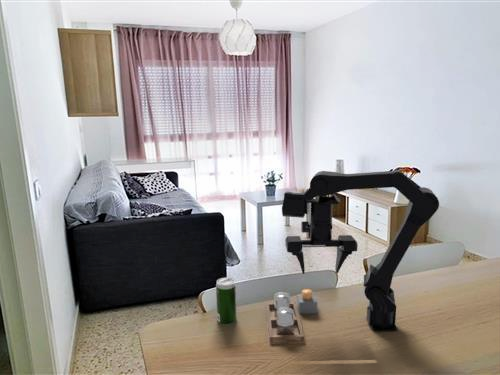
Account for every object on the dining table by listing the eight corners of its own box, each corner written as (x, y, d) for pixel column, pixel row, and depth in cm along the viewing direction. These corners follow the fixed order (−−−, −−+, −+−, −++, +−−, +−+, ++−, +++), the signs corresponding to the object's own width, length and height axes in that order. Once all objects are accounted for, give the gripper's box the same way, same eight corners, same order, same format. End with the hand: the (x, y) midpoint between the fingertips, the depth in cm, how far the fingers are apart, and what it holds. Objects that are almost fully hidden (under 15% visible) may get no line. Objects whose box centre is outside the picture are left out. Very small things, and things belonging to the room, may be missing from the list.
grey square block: (314, 306, 115) (314, 293, 114) (317, 315, 110) (317, 302, 109) (297, 306, 115) (297, 294, 114) (299, 315, 110) (299, 302, 109)
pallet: (295, 308, 114) (296, 301, 113) (305, 345, 96) (305, 337, 96) (265, 308, 114) (265, 302, 113) (268, 345, 96) (268, 338, 95)
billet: (292, 327, 103) (292, 306, 101) (294, 337, 98) (294, 315, 97) (275, 327, 103) (276, 307, 101) (277, 337, 98) (277, 315, 97)
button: (311, 295, 113) (311, 289, 112) (313, 300, 110) (313, 293, 109) (301, 295, 113) (301, 289, 112) (302, 300, 110) (302, 294, 109)
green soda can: (223, 329, 103) (221, 287, 101) (213, 320, 108) (212, 280, 105) (240, 322, 106) (239, 282, 104) (230, 314, 111) (229, 275, 108)
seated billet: (289, 311, 111) (289, 291, 110) (290, 319, 107) (290, 299, 105) (273, 311, 111) (273, 292, 110) (274, 319, 107) (274, 299, 105)
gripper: (348, 210, 111) (346, 261, 115) (283, 211, 111) (283, 262, 114) (359, 221, 100) (356, 277, 104) (287, 222, 100) (287, 278, 104)
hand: (319, 273), depth 107 cm, fingers open, 9 cm apart
